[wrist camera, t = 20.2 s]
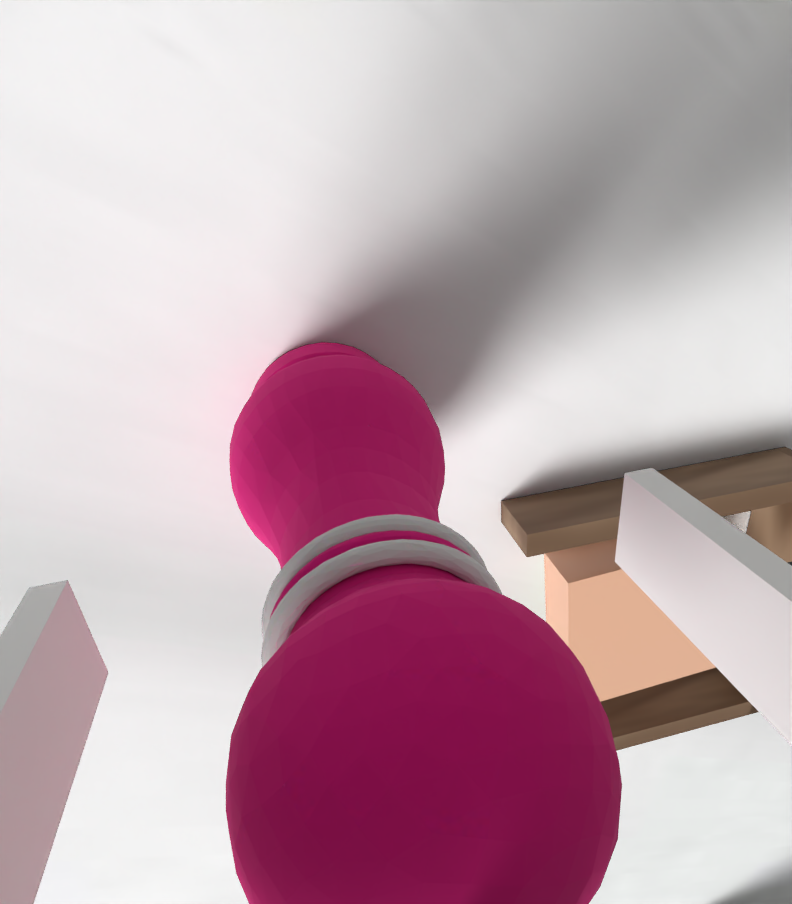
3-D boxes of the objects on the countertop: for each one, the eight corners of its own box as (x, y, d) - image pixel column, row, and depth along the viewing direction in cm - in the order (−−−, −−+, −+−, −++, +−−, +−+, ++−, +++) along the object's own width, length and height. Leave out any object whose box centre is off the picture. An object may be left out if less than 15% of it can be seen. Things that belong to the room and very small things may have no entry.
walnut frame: (501, 500, 26) (527, 534, 24) (785, 446, 29) (837, 472, 26) (501, 730, 34) (522, 776, 31) (729, 671, 36) (766, 709, 33)
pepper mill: (353, 516, 25) (563, 1279, 7) (203, 448, 22) (-39, 1416, 5) (442, 384, 23) (998, 970, 6) (292, 292, 21) (454, 885, 3)
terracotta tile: (540, 547, 29) (568, 583, 26) (694, 508, 30) (736, 538, 27) (544, 669, 33) (568, 710, 30) (680, 630, 34) (715, 667, 31)
